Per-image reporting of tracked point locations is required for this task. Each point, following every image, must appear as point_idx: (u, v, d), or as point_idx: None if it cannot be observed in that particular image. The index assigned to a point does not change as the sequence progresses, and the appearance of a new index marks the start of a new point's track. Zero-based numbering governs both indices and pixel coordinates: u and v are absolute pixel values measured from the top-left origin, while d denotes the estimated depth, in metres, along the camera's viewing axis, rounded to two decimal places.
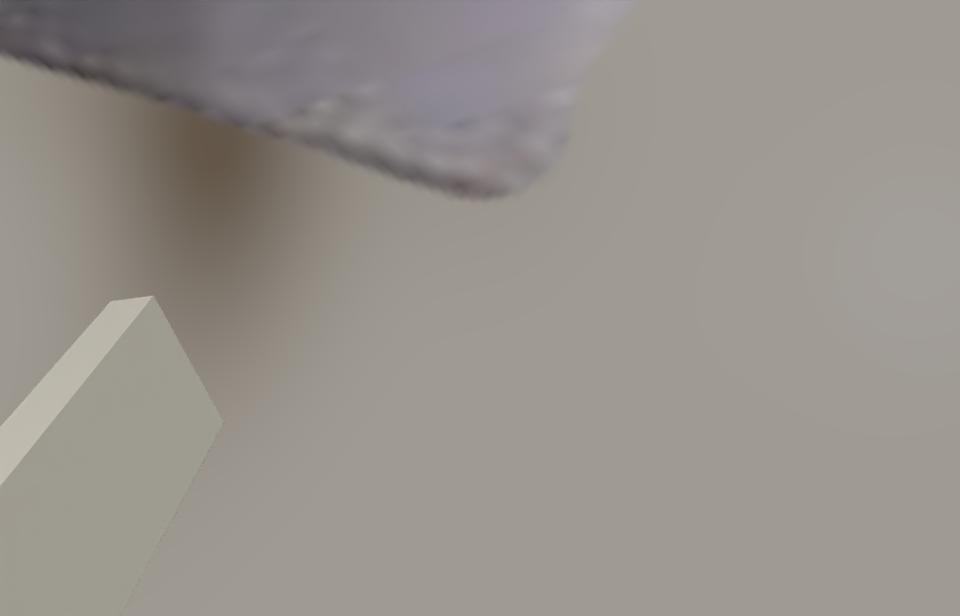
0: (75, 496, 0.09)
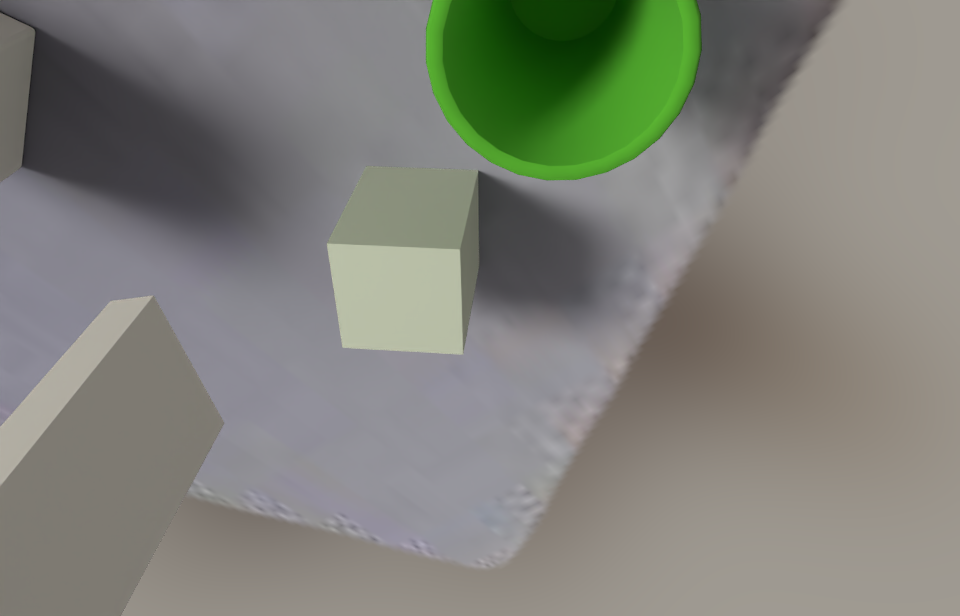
0: (75, 496, 0.09)
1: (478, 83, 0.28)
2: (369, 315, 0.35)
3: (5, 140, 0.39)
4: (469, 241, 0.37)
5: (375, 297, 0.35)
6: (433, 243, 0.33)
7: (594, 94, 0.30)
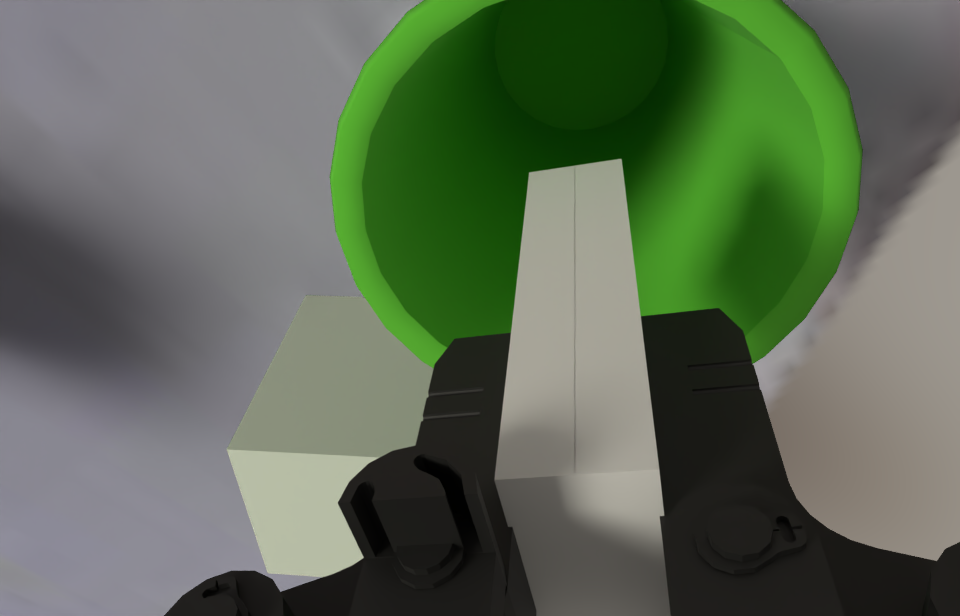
0: None
1: (442, 237, 0.17)
2: (301, 537, 0.24)
3: None
4: None
5: (307, 516, 0.23)
6: (388, 448, 0.22)
7: (635, 235, 0.18)
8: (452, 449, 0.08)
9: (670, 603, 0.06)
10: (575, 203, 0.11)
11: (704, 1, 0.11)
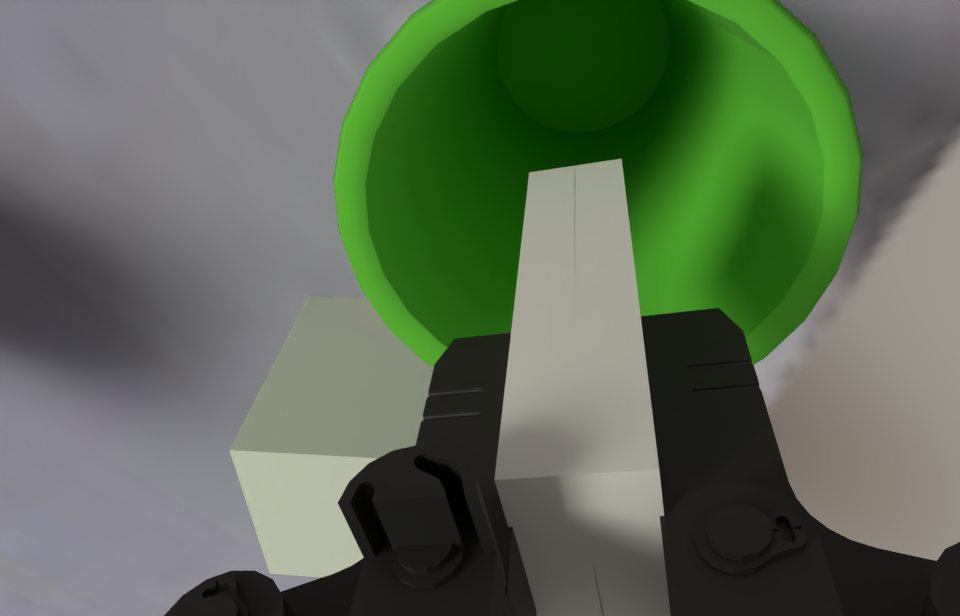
0: None
1: (444, 239, 0.17)
2: (303, 537, 0.24)
3: None
4: None
5: (309, 517, 0.23)
6: (390, 449, 0.22)
7: (637, 237, 0.18)
8: (452, 449, 0.08)
9: (669, 603, 0.06)
10: (575, 203, 0.11)
11: (705, 5, 0.11)
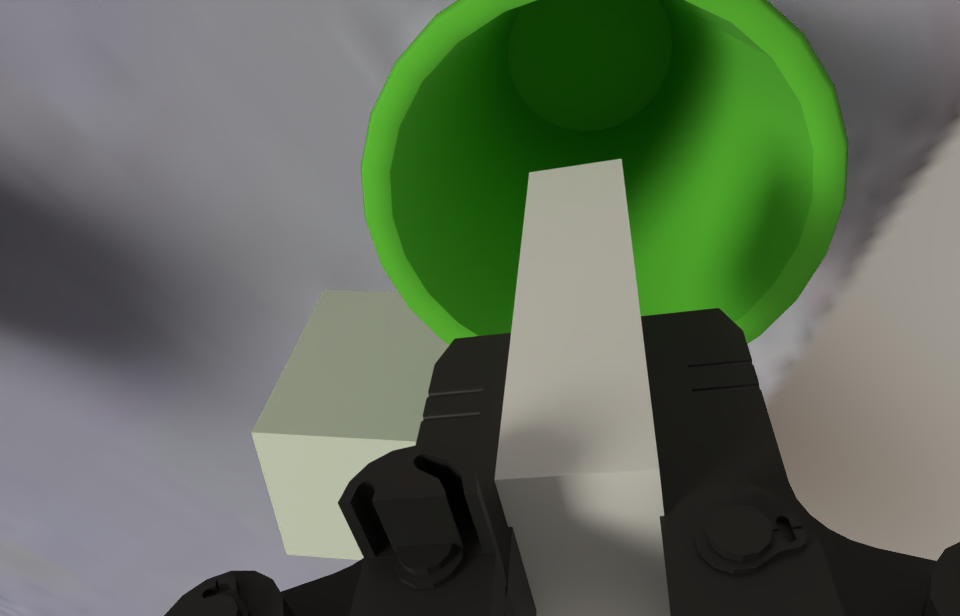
0: None
1: (460, 227, 0.18)
2: (320, 518, 0.25)
3: None
4: None
5: (326, 498, 0.24)
6: (405, 432, 0.23)
7: (640, 227, 0.19)
8: (452, 449, 0.08)
9: (670, 603, 0.06)
10: (575, 203, 0.11)
11: (703, 6, 0.12)
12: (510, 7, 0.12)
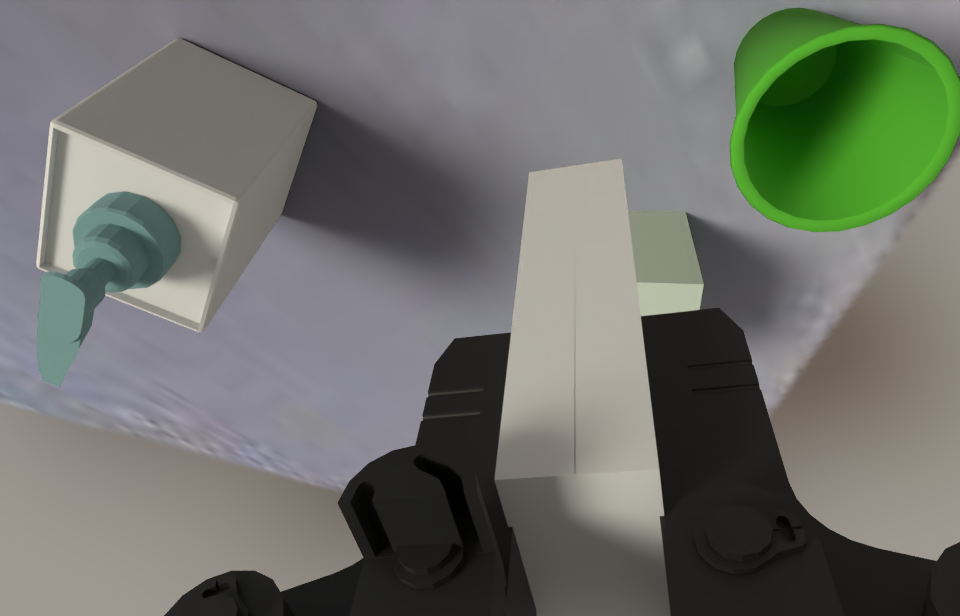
0: None
1: (748, 152, 0.34)
2: None
3: (283, 194, 0.45)
4: None
5: None
6: (679, 279, 0.39)
7: (830, 156, 0.36)
8: (452, 449, 0.08)
9: (670, 603, 0.06)
10: (575, 203, 0.11)
11: (909, 47, 0.29)
12: (824, 47, 0.29)
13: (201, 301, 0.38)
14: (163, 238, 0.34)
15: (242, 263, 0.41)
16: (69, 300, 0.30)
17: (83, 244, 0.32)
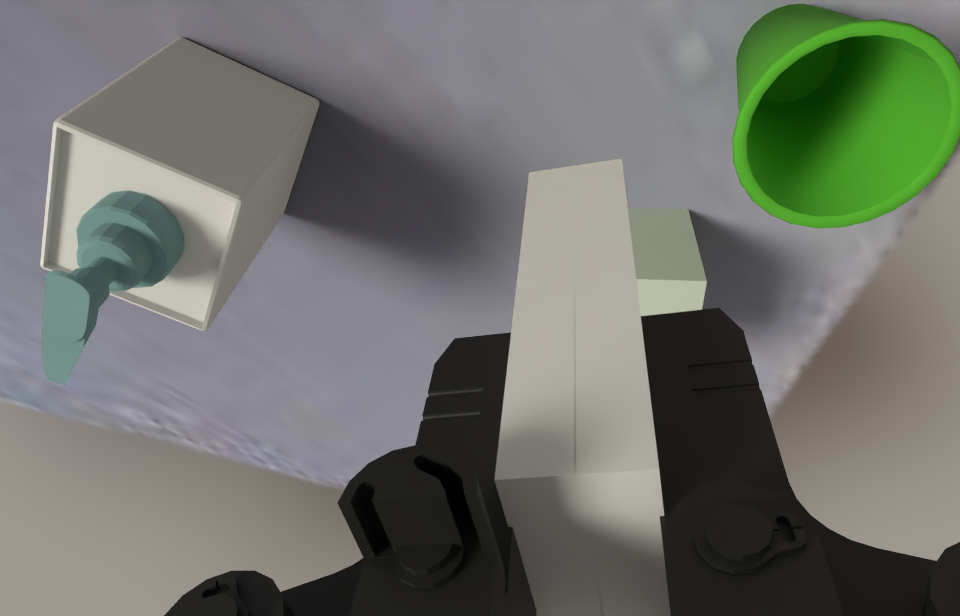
0: None
1: (751, 149, 0.34)
2: None
3: (285, 193, 0.45)
4: None
5: None
6: (682, 276, 0.40)
7: (833, 152, 0.36)
8: (452, 449, 0.08)
9: (670, 603, 0.06)
10: (575, 203, 0.11)
11: (912, 42, 0.29)
12: (827, 42, 0.29)
13: (205, 300, 0.38)
14: (167, 237, 0.34)
15: (245, 262, 0.41)
16: (74, 299, 0.30)
17: (87, 243, 0.32)
